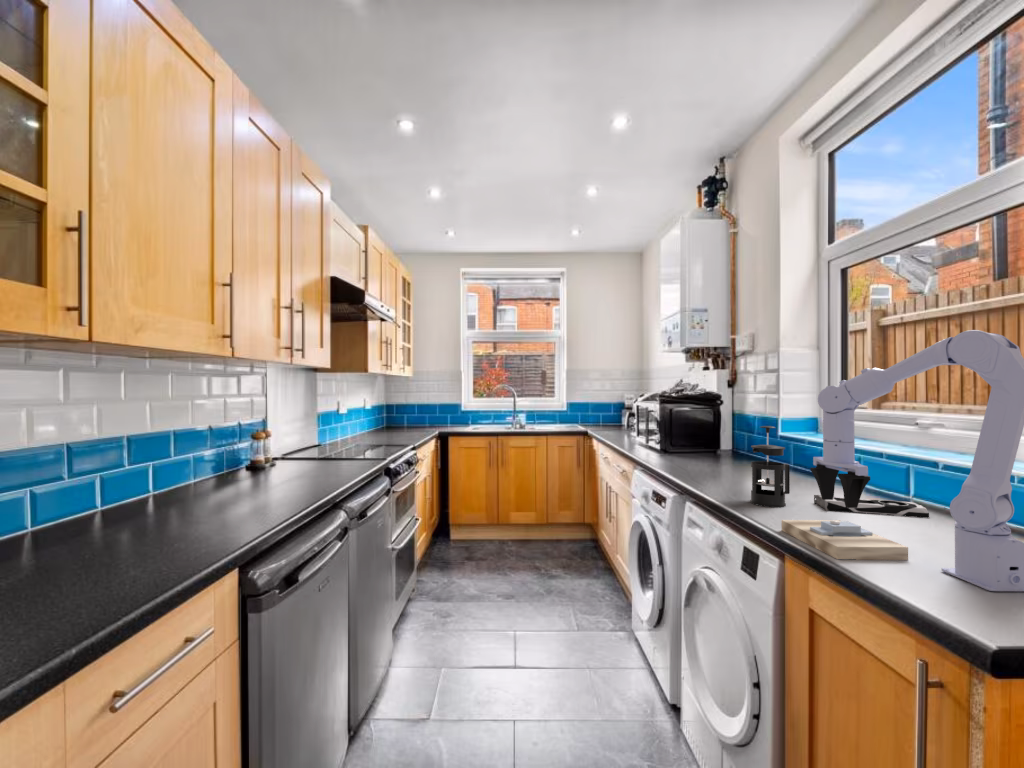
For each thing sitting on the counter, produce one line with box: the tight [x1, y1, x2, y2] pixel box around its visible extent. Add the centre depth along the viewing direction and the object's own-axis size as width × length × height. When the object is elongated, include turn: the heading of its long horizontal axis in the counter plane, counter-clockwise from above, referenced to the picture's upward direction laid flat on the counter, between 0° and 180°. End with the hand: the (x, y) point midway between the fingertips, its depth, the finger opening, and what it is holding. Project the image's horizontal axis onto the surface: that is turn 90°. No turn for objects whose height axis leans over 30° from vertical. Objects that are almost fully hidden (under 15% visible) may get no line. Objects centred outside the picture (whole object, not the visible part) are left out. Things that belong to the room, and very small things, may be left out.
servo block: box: [810, 519, 873, 537], centre depth 106 cm, size 4×11×5 cm, turn 91°
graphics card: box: [813, 494, 930, 518], centre depth 136 cm, size 10×3×25 cm
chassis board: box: [781, 519, 909, 561], centre depth 106 cm, size 20×14×2 cm
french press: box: [749, 425, 791, 508], centre depth 144 cm, size 12×9×23 cm
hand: (839, 503), depth 106 cm, fingers open, 7 cm apart
